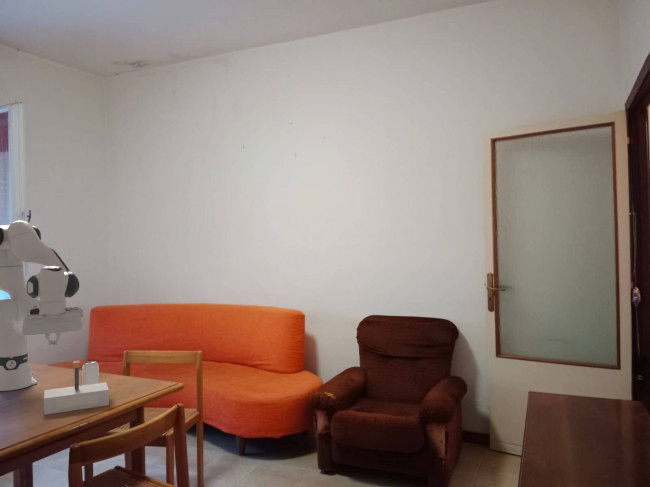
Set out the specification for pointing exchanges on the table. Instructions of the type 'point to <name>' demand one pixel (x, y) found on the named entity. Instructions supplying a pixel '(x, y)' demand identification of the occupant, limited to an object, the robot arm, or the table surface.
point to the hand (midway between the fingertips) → (53, 344)
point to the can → (90, 373)
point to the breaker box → (75, 398)
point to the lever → (76, 374)
